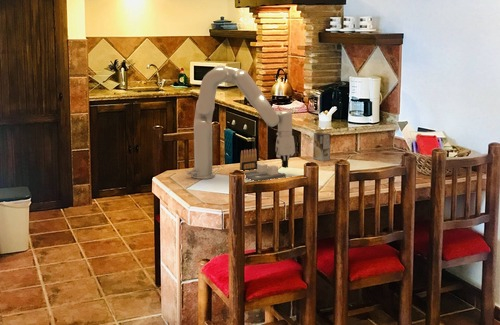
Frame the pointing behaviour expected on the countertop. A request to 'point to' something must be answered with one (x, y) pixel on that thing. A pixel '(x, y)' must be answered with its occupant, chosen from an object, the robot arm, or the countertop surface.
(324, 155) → the coffee box
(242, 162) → the ammunition clip
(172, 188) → the countertop surface
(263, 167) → the tab
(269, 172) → the tab
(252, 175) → the switch bank
